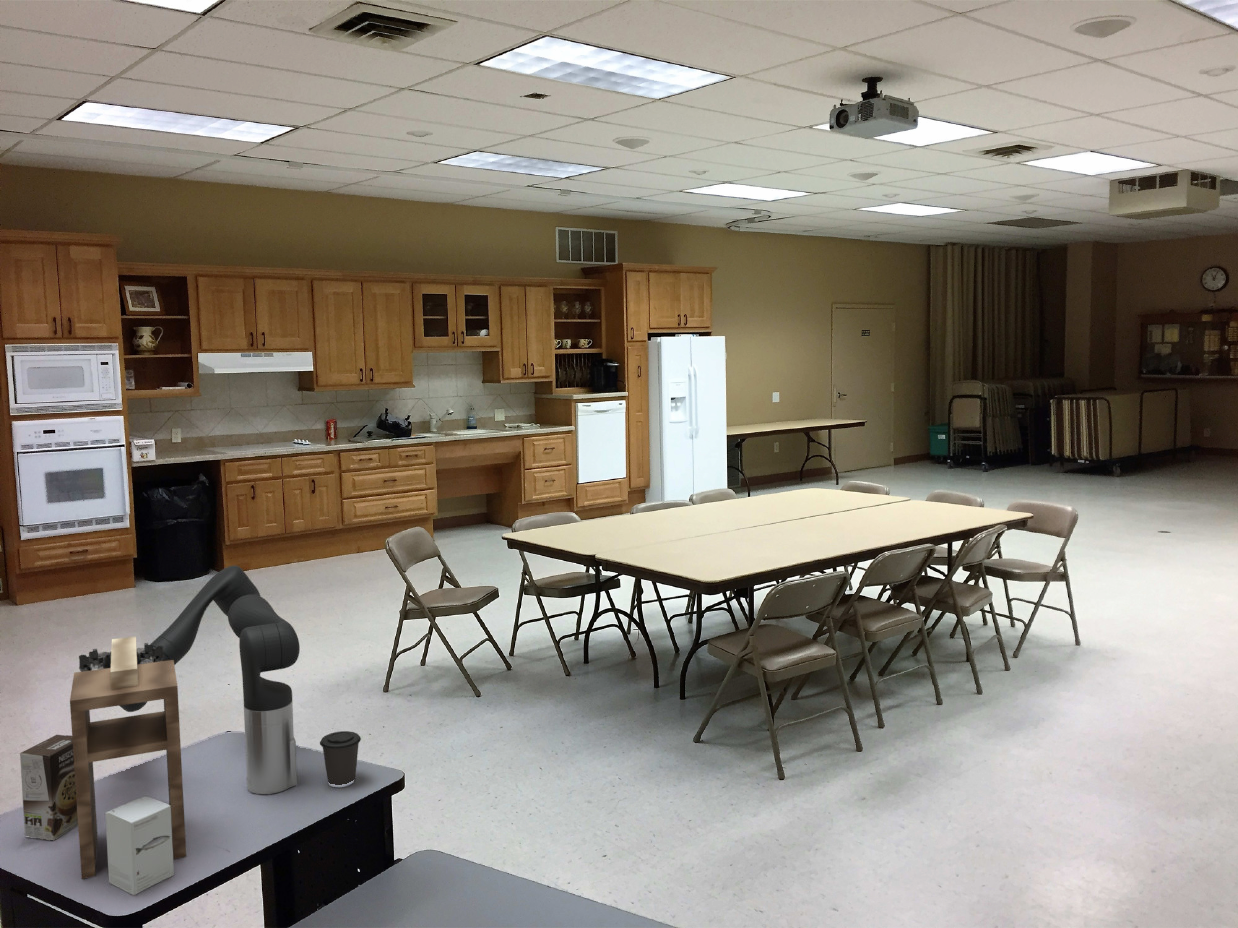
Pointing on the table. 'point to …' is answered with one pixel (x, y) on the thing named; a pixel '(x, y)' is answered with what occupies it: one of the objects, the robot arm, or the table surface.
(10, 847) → the table surface
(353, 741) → the coffee cup
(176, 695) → the walnut rack
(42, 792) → the coffee box
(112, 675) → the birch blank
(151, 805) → the supplement box
